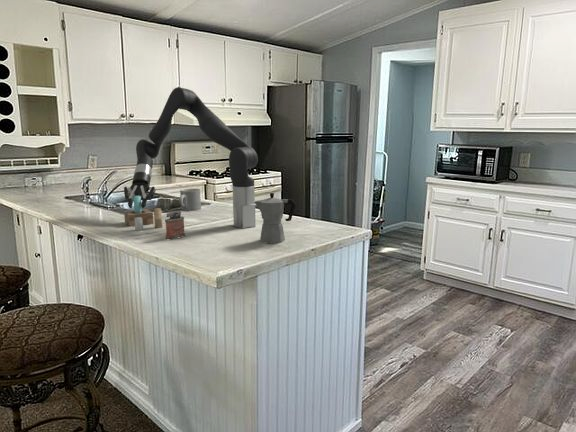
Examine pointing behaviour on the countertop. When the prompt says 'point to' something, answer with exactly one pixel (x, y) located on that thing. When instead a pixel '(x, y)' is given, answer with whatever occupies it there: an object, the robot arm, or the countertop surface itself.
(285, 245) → the countertop surface
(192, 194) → the coffee mug
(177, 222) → the lighter
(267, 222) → the coffeepot
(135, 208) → the teal pin
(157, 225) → the beech pin
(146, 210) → the walnut block
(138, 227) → the grey pin
